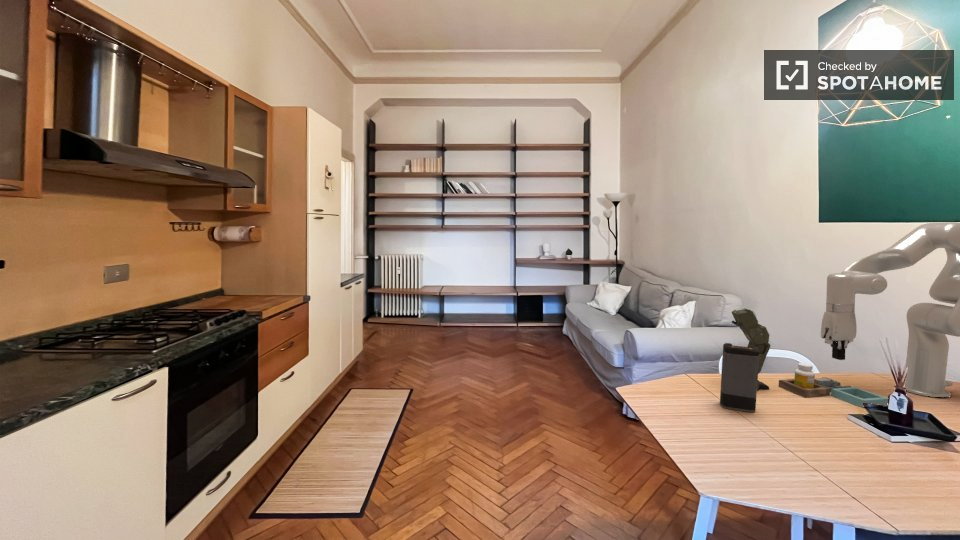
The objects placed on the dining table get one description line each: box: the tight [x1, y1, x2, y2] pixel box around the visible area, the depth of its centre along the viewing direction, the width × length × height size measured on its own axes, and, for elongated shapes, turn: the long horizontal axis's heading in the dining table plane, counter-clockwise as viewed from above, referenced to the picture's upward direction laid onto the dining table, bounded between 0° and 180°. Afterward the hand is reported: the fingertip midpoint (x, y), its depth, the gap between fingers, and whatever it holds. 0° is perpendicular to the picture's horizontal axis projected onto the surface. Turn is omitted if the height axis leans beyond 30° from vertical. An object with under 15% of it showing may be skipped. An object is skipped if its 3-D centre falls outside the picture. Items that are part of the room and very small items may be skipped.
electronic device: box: [719, 342, 759, 413], centre depth 126 cm, size 9×6×20 cm, turn 65°
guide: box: [827, 381, 853, 393], centre depth 143 cm, size 12×5×2 cm, turn 99°
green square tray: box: [830, 386, 890, 409], centre depth 133 cm, size 10×10×2 cm
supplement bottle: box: [793, 362, 815, 389], centre depth 140 cm, size 5×5×10 cm
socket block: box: [778, 378, 831, 399], centre depth 141 cm, size 10×10×2 cm
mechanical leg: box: [731, 307, 771, 391], centre depth 144 cm, size 14×7×30 cm, turn 83°
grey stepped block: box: [814, 376, 838, 387], centre depth 142 cm, size 6×4×3 cm
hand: (838, 358), depth 142 cm, fingers closed
